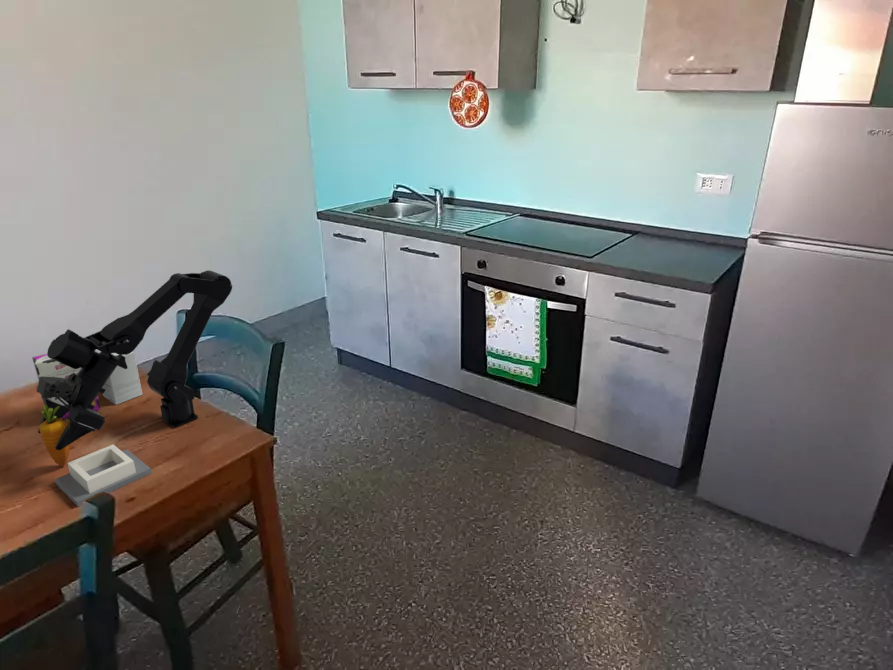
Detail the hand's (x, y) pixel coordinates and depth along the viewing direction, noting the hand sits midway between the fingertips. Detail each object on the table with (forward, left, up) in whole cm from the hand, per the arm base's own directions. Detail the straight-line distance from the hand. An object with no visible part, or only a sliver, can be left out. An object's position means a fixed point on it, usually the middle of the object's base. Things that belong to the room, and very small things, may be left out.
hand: (48, 441), depth 133 cm
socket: (-5, +11, -7) cm, 14 cm away
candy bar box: (-12, -22, -7) cm, 26 cm away
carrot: (-1, 0, -7) cm, 7 cm away
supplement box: (-24, -22, -7) cm, 34 cm away
